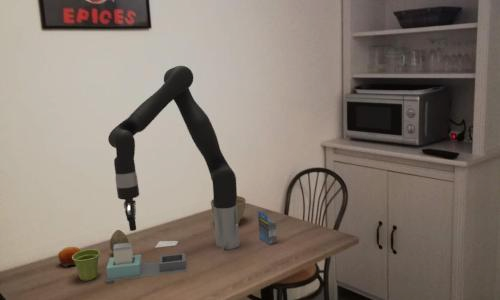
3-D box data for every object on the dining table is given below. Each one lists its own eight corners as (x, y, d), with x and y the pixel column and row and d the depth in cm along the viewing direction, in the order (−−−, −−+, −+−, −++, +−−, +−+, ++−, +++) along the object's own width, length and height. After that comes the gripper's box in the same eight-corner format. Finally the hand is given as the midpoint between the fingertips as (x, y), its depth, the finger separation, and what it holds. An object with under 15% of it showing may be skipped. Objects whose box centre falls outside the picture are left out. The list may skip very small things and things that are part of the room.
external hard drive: (178, 244, 193) (170, 256, 181) (159, 244, 194) (150, 256, 182) (178, 240, 193) (170, 252, 181) (158, 241, 194) (150, 253, 181)
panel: (186, 260, 175) (185, 248, 174) (187, 274, 164) (186, 261, 163) (110, 268, 171) (109, 256, 170) (106, 283, 160) (104, 270, 159)
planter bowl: (211, 218, 222) (210, 197, 220) (244, 216, 223) (243, 194, 221) (212, 230, 206) (211, 207, 204) (248, 227, 207) (247, 204, 205)
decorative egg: (120, 248, 190) (118, 225, 188) (133, 251, 186) (130, 228, 184) (107, 255, 184) (104, 231, 182) (120, 258, 180) (117, 234, 178)
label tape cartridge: (277, 242, 188) (276, 214, 186) (268, 244, 186) (267, 215, 184) (266, 236, 196) (265, 208, 194) (258, 238, 194) (257, 210, 192)
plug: (134, 268, 168) (131, 242, 167) (133, 272, 165) (130, 246, 163) (117, 270, 168) (114, 244, 166) (115, 274, 164) (113, 248, 162)
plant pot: (102, 280, 162) (99, 257, 161) (73, 285, 160) (70, 261, 158) (102, 269, 171) (100, 247, 169) (75, 274, 168) (72, 251, 167)
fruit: (60, 268, 170) (57, 247, 173) (60, 271, 177) (57, 251, 179) (83, 263, 174) (80, 242, 176) (82, 266, 181) (78, 247, 183)
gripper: (136, 187, 159) (142, 234, 162) (138, 178, 172) (144, 222, 175) (114, 190, 158) (121, 237, 161) (118, 181, 171) (124, 225, 174)
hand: (133, 229), depth 168 cm, fingers closed
